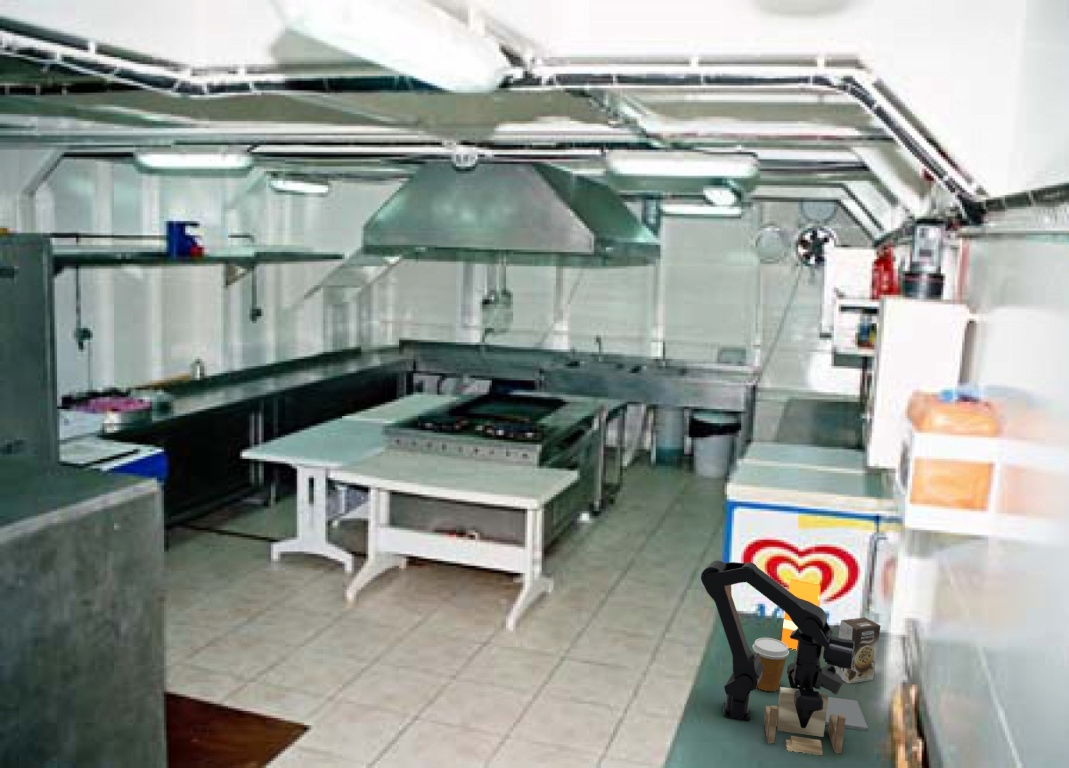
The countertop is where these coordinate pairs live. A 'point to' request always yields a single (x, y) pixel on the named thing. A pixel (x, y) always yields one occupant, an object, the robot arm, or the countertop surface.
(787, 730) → the cream flat block
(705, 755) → the countertop surface
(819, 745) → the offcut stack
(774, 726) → the light wood rack
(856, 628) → the cookie box
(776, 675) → the disposable coffee cup
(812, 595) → the orange juice
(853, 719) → the rubber mat
